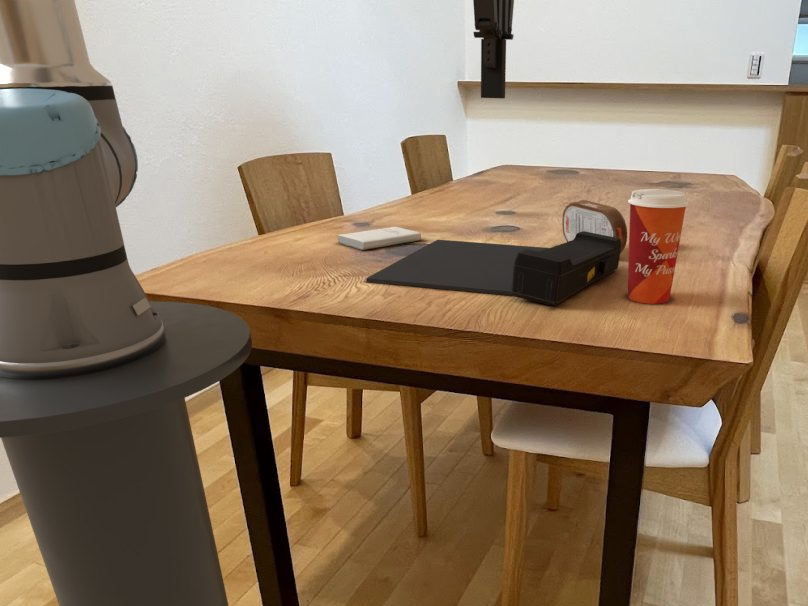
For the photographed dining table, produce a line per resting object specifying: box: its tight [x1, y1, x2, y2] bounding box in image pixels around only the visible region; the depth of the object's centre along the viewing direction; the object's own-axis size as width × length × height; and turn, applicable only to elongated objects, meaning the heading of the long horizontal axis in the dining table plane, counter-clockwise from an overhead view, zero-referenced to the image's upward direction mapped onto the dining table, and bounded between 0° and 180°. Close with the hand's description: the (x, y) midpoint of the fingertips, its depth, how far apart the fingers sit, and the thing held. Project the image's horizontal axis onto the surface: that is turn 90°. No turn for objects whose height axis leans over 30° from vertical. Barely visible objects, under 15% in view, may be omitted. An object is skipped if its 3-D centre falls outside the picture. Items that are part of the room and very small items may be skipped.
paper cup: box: [627, 188, 690, 305], centre depth 87 cm, size 8×8×14 cm
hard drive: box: [337, 226, 422, 251], centre depth 120 cm, size 2×8×12 cm
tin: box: [561, 199, 628, 255], centre depth 113 cm, size 15×3×8 cm, turn 32°
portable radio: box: [512, 231, 622, 307], centre depth 95 cm, size 8×6×25 cm
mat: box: [365, 239, 549, 297], centre depth 105 cm, size 24×28×1 cm
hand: (493, 97), depth 82 cm, fingers closed
